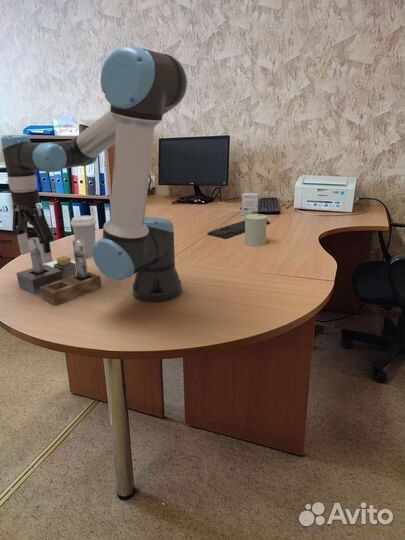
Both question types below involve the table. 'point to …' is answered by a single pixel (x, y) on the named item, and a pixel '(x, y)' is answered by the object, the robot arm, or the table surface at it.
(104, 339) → the table surface
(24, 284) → the block
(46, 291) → the rack
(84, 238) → the coffee cup
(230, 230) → the dark grey ribbed block
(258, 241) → the can
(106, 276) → the robot arm
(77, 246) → the test tube
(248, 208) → the ink box
